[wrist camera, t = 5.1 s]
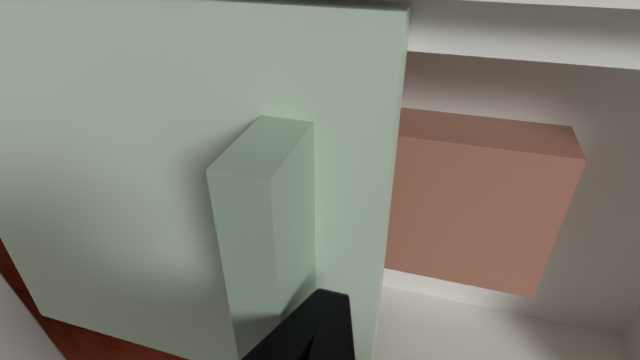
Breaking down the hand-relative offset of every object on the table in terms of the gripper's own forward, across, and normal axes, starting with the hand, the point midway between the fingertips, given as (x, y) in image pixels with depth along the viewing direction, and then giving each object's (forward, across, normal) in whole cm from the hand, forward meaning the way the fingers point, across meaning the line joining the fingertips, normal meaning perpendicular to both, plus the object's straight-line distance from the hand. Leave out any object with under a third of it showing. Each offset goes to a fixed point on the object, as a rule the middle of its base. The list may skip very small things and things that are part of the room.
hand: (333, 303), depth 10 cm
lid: (+2, +6, 0) cm, 6 cm away
